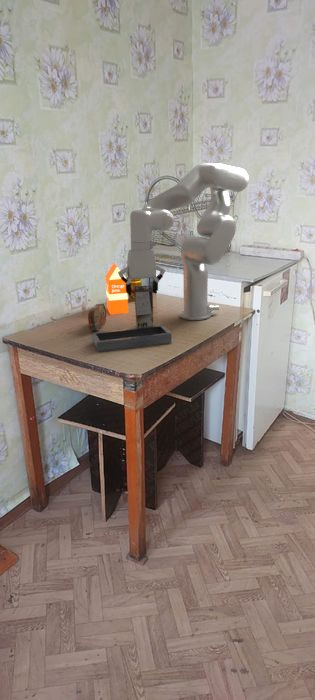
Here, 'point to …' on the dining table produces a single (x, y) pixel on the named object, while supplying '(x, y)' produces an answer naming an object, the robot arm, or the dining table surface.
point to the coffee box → (144, 306)
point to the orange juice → (116, 292)
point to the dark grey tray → (131, 338)
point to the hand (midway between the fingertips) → (142, 293)
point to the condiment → (134, 283)
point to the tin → (97, 317)
